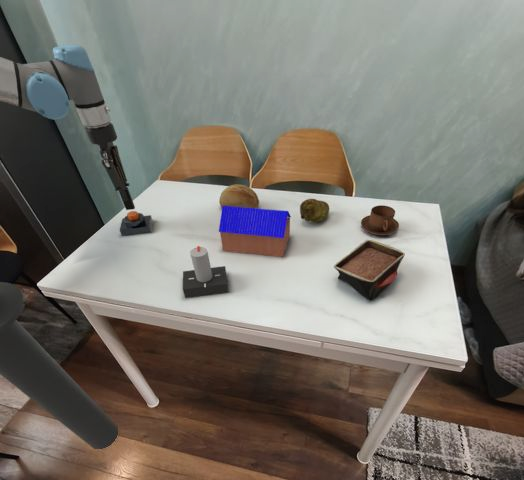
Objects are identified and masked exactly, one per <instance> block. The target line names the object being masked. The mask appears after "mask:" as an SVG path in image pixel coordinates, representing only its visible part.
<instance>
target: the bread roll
mask: <svg viewBox="0 0 524 480" xmlns="http://www.w3.org/2000/svg"><path fill="white" fill-rule="evenodd" d="M218 202H219V206H220V208H222V206H232V207H245V208H257V209H258V207H259V206H260V200H259V196H258V194H257V193H256V191H254V189H252V188H251V187H249V186H247V185H245V184H235V183H234V184H231V185H229V186H227V187H226V188H225V189H224V188H223V190H222V191H221V193H220V196H219V200H218Z"/></svg>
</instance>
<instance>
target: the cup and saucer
mask: <svg viewBox="0 0 524 480" xmlns="http://www.w3.org/2000/svg"><path fill="white" fill-rule="evenodd" d="M395 215H396V210H395V209H394V208H393V207H391V206H388V205H382V204H381V205H380V204H379V205H375V206H373V207H372V208H371V210H370V214H369V215H366V216H364V217H363V218H362V219H361V221H360V226H361V228H362V229H363V230H364V231H365V232H367V233H369V234H371V235H375V236H388V235H392V234H394V233H395V232H397V231H398V229H399V227H400V224H399V222H398V220H396V219H395Z"/></svg>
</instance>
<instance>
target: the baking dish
mask: <svg viewBox="0 0 524 480" xmlns="http://www.w3.org/2000/svg"><path fill="white" fill-rule="evenodd" d="M405 255H406V254H405V252H404V251H402V250H400V249H398V248H396V247H393V246H390V245H389V244H386V243H383V242H379V241H376V240H373V239H365V240H364V241H363V242H362V243H360V244H359V245H358V246H357V247H355V248H354V249H353V250H352V251H350V253H348V254H347V255H345V256H344V257H343V258H342V259H340V260H339V261H337V262H336V263H335V264H333V268H334V269H335V270H336V271H337V272H338V277H337V280H341V281H343V282H345V283H347V284H348V285H349V286H351V288H352V289H353V290H354V291H355V292H357V293H358V294H359V295H360V296H361V297H363V298H364V299H366V300H367V301H369V302H373V301H374V300H375V299H377V297H379V296H380V295H381V294H382V293H383V292H384V291H386V290H387V289H388V288H389V287H390V285H391V284H392V283H393V282H394V281H396V279H397V276H398V269H399V268H400V265H401V263H402V261H403V259H404V258H405Z"/></svg>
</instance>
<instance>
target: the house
mask: <svg viewBox="0 0 524 480" xmlns="http://www.w3.org/2000/svg"><path fill="white" fill-rule="evenodd" d="M291 218H292V216H291V214H290V212H289V211H288V210H283V209H282V210H281V209H270V208H269V209H267V208H258V207H257V208H245V207H232V206H222V207H221V213H220V218H219V219H220V220H219V227H218V233H220V240H221V247H222V251H223V252H231V253H241V254H249V255H258V256H266V257H267V256H269V257H277V258H283V257H284V254H285V251H286V249H287V246H288V242H289V239H290V232H291V231H290V230H291Z"/></svg>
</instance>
